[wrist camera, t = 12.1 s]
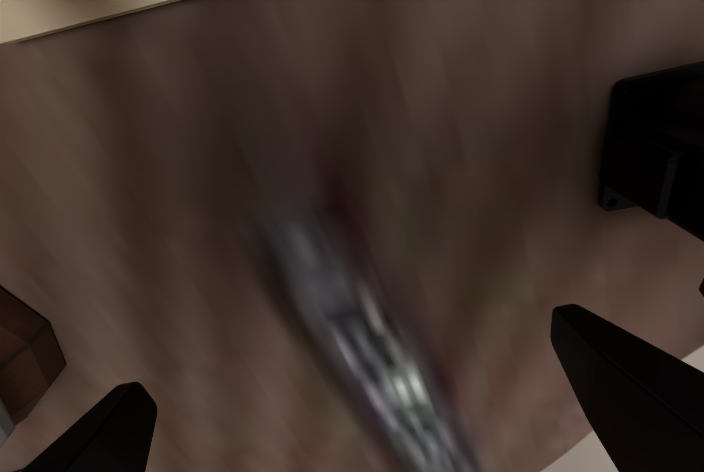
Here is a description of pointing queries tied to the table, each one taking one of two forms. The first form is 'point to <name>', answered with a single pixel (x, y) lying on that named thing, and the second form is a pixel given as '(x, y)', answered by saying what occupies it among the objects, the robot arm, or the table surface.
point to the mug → (24, 362)
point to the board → (61, 15)
